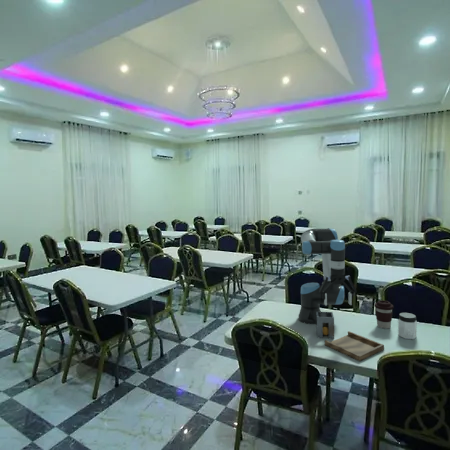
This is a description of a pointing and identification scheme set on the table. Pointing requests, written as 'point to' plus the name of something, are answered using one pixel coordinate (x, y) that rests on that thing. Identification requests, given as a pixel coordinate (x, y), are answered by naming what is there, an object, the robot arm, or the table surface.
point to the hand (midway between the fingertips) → (337, 304)
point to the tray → (355, 346)
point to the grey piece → (325, 323)
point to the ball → (325, 331)
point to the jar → (407, 325)
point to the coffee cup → (384, 314)
